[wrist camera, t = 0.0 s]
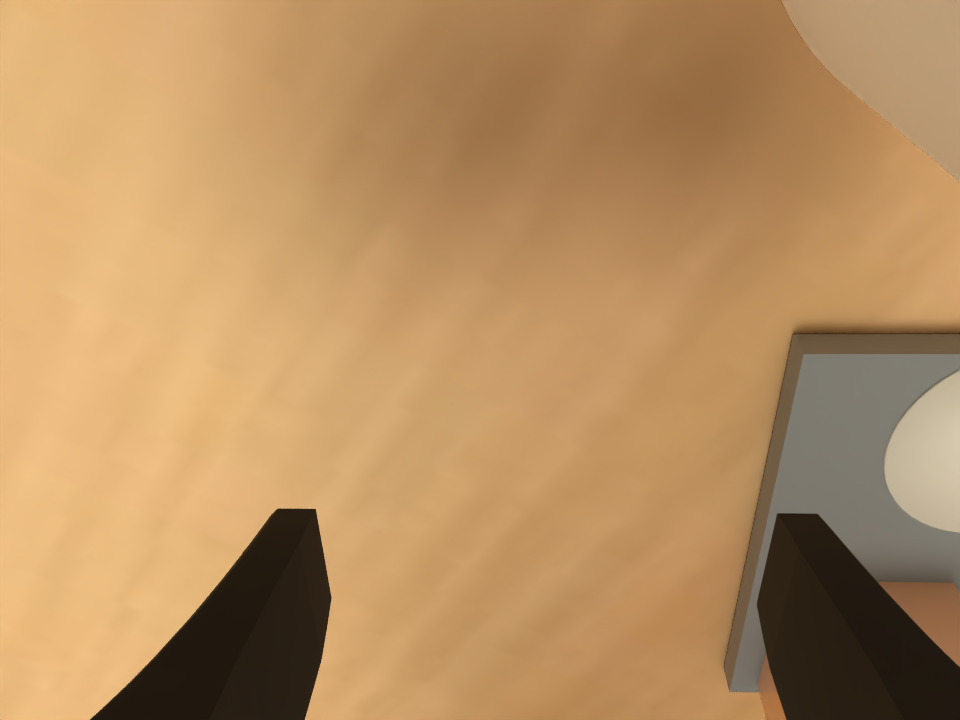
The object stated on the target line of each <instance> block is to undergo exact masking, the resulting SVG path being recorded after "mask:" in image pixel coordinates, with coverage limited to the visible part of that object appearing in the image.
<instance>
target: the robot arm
mask: <svg viewBox="0 0 960 720" xmlns="http://www.w3.org/2000/svg"><path fill="white" fill-rule="evenodd" d="M330 604H331V593H330V587H329V582H328V576H327V570H326V565H325V559H324V553H323V548H322V542H321V536H320V531H319V525H318V519H317V514H316V509H277V510H276V511H275V512H274V513H273V514H272V515H271V516H270V517H269V519H268V520H267V521H266V523H265V524H264V526H263V527H262V528H261V530H260V531H259V532H258V534H257V535H256V536H255V538H254V539H253V540H252V542H251V543H250V544H249V546H248V547H247V548H246V550H245V551H244V552H243V554H242V555H241V556H240V557H239V559H238V560H237V561H236V563H235V564H234V565H233V566H232V568H231V569H230V570H229V571H228V573H227V574H226V575H225V577H224V578H223V579H222V580H221V581H220V583H219V584H218V585H217V586H216V587H215V589H214V590H213V591H212V592H211V594H210V595H209V596H208V597H207V598H206V600H205V601H204V602H203V603H202V604H201V606H200V607H199V608H198V609H197V610H196V612H195V613H194V614H193V615H192V616H191V617H190V619H189V620H188V621H187V622H186V623H185V624H184V625H183V626H182V627H181V629H180V630H179V631H178V632H177V633H176V634H175V635H174V636H173V637H172V638H171V640H170V641H169V642H168V643H167V644H166V645H165V646H164V647H163V648H162V649H161V651H160V652H159V653H158V654H157V655H156V656H155V657H154V658H153V659H152V660H151V661H150V662H149V663H148V664H147V665H146V666H145V667H144V668H143V670H142V671H141V672H140V673H139V674H138V675H137V676H136V677H135V678H134V679H133V680H132V681H131V682H130V683H129V684H128V685H127V686H126V687H125V688H123V689H122V690H121V691H120V692H119V693H118V694H117V695H116V696H115V697H114V698H113V699H112V700H111V701H110V702H109V703H108V704H107V705H106V706H104V707H103V708H102V709H101V710H100V711H99V712H98V713H97V714H96V715H95V716H94V717H92V718H91V719H90V720H305V717H306V713H307V710H308V706H309V703H310V699H311V695H312V692H313V688H314V685H315V681H316V678H317V674H318V670H319V667H320V663H321V659H322V654H323V648H324V642H325V636H326V630H327V624H328V617H329V610H330ZM757 609H758V614H759V619H760V625H761V630H762V635H763V640H764V645H765V650H766V654H767V659H768V664H769V668H770V671H771V674H772V677H773V680H774V684H775V687H776V690H777V693H778V696H779V699H780V702H781V705H782V708H783V711H784V714H785V717H786V720H960V667H959V666H958V665H957V664H956V663H955V662H954V661H953V660H952V659H951V658H950V657H949V656H948V655H947V654H946V653H945V652H944V651H943V650H942V649H941V648H940V647H939V646H938V645H937V644H936V643H935V642H934V641H933V640H932V639H931V638H930V637H929V636H928V635H927V634H926V633H925V632H924V631H923V630H922V629H921V628H920V627H919V626H918V625H917V624H916V623H915V622H914V621H913V619H912V618H911V617H910V616H909V615H908V614H907V613H906V612H905V611H904V610H903V609H902V608H901V607H900V606H899V605H898V604H897V603H896V601H895V600H894V599H893V598H892V597H891V596H890V595H889V594H888V593H887V592H886V591H885V590H884V588H883V587H882V586H881V585H880V584H879V583H878V582H877V581H876V579H875V578H874V577H873V576H872V575H871V574H870V573H869V572H868V570H867V569H866V568H865V567H864V566H863V565H862V564H861V563H860V561H859V560H858V559H857V558H856V557H855V556H854V555H853V553H852V552H851V551H850V550H849V549H848V548H847V546H846V545H845V544H844V543H843V542H842V541H841V540H840V538H839V537H838V536H837V535H836V534H835V533H834V531H833V530H832V529H831V528H830V527H829V526H828V525H827V523H826V522H825V521H824V520H823V519H822V518H821V517H820V516H819V515H818V514H805V513H777V516H776V521H775V525H774V529H773V534H772V538H771V543H770V547H769V551H768V556H767V560H766V565H765V569H764V573H763V578H762V582H761V587H760V591H759V595H758V600H757Z"/></svg>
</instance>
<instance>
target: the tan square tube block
mask: <svg viewBox="0 0 960 720" xmlns="http://www.w3.org/2000/svg"><path fill="white" fill-rule="evenodd" d="M878 583H879V584H880V585H881V586H882V587H883V588H884V590H885V591H886V592H887V593H888V594H889V595H890V596H891V597H892V598H893V599H894V600H895V601H896V603H897V604H898V605H899V606H900V607H901V608H902V609H903V610H904V611H905V612H906V613H907V614H908V615H909V616H910V617H911V618H912V619H913V621H914V622H915V623H916V624H917V625H918V626H919V627H920V628H921V629H922V630H923V631H924V632H925V633H926V634H927V635H928V636H929V637H930V638H931V639H932V640H933V641H934V642H935V643H936V644H937V645H938V646H939V647H940V648H941V649H942V650H943V651H944V652H945V653H946V654H947V655H948V656H949V657H950V658H951V659H952V660H953V661H954V662H955V663H956V664H957V665H958V666H959V667H960V593H959V591H958V589H957V588H956V586H955V584H954V583H932V582H878ZM758 689H759V693H760V696H761V700H762V704H763V707H764V711H765V714H766V718H767V720H786V717H785V714H784V711H783V708H782V705H781V702H780V699H779V696H778V693H777V690H776V687H775V684H774V680H773V677H772V674H771V671H770V668H769V664H768V659H767V654H766V653H765V657H764V661H763V665H762V669H761V673H760V677H759V681H758Z"/></svg>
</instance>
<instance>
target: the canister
mask: <svg viewBox="0 0 960 720" xmlns="http://www.w3.org/2000/svg"><path fill="white" fill-rule="evenodd" d="M781 1H782V3H783V5H784V8H785V10H786V12H787V14H788V15H789V17H790V19H791V21H792V23H793V25H794V26H795V28H796V30H797V31H798V33H799V34H800V36H801V38H802V39H803V41H804V42H805V43H806V45H807V46H808V48H809V49H810V50H811V52H812V53H813V54H814V55H815V57H816V58H817V59H818V60H819V61H820V62H821V64H822V65H823V66H824V67H825V68H826V69H827V70H828V71H829V72H830V73H831V74H832V75H833V76H834V77H835V78H836V79H837V80H838V81H839V82H840V83H841V84H843V85H844V86H845V87H846V88H847V89H849V90H850V91H851V92H852V93H853V94H855V95H856V96H857V97H858V98H859V99H861V100H862V101H863V102H864V103H865V104H867V105H868V106H869V107H870V108H871V109H873V110H874V111H875V112H876V113H877V114H879V115H880V116H881V117H882V118H884V119H885V120H886V121H887V122H888V123H890V124H891V125H892V126H893V127H894V128H896V129H897V130H898V131H899V132H900V133H902V134H903V135H904V136H905V137H906V138H908V139H909V140H910V141H911V142H912V143H914V144H915V145H916V146H917V147H918V148H920V149H921V150H922V151H923V152H924V153H926V154H927V155H928V156H929V157H930V158H932V159H933V160H934V161H935V162H937V163H938V164H939V165H940V166H941V167H943V168H944V169H945V170H946V171H947V172H949V173H950V174H951V175H952V176H953V177H955V178H956V179H957V180H958V181H959V182H960V0H781Z"/></svg>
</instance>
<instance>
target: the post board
mask: <svg viewBox="0 0 960 720" xmlns="http://www.w3.org/2000/svg"><path fill="white" fill-rule="evenodd" d="M777 513H805V514H818V515H819V516H820V517H821V518H822V519H823V520H824V521H825V522H826V523H827V525H828V526H829V527H830V528H831V529H832V530H833V531H834V533H835V534H836V535H837V536H838V537H839V538H840V540H841V541H842V542H843V543H844V544H845V545H846V546H847V548H848V549H849V550H850V551H851V552H852V553H853V555H854V556H855V557H856V558H857V559H858V560H859V561H860V563H861V564H862V565H863V566H864V567H865V568H866V569H867V570H868V572H869V573H870V574H871V575H872V576H873V577H874V578H875V579H876V581H877V582H932V583H954V584H955V586H956V588H957V589H958V591H959V593H960V334H793V337H792V342H791V347H790V351H789V356H788V361H787V366H786V371H785V375H784V380H783V385H782V390H781V395H780V399H779V404H778V409H777V414H776V419H775V423H774V428H773V433H772V438H771V443H770V448H769V452H768V457H767V462H766V467H765V472H764V476H763V481H762V486H761V491H760V496H759V500H758V505H757V510H756V515H755V520H754V524H753V529H752V534H751V539H750V544H749V548H748V553H747V558H746V563H745V568H744V572H743V577H742V582H741V587H740V592H739V596H738V601H737V606H736V611H735V616H734V620H733V625H732V630H731V635H730V640H729V644H728V649H727V654H726V659H725V664H724V671H725V675H726V679H727V683H728V687H729V692H759V689H758V681H759V677H760V673H761V669H762V665H763V661H764V657H765V653H766V650H765V645H764V640H763V635H762V630H761V625H760V619H759V614H758V609H757V600H758V595H759V591H760V587H761V582H762V578H763V573H764V569H765V565H766V560H767V556H768V551H769V547H770V543H771V538H772V534H773V529H774V525H775V521H776V516H777Z"/></svg>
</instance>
